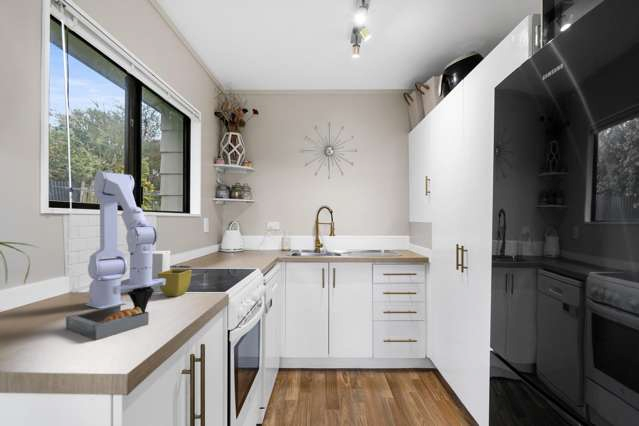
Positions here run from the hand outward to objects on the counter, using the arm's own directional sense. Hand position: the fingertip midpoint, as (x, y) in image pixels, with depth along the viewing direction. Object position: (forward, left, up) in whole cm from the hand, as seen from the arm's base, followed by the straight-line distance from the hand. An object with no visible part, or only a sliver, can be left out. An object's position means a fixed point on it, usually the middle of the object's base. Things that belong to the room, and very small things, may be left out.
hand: (140, 314), depth 90 cm
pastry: (+2, -5, -1) cm, 5 cm away
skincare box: (-28, +24, -1) cm, 37 cm away
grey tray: (0, -8, -1) cm, 8 cm away
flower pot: (-15, +22, -1) cm, 27 cm away
